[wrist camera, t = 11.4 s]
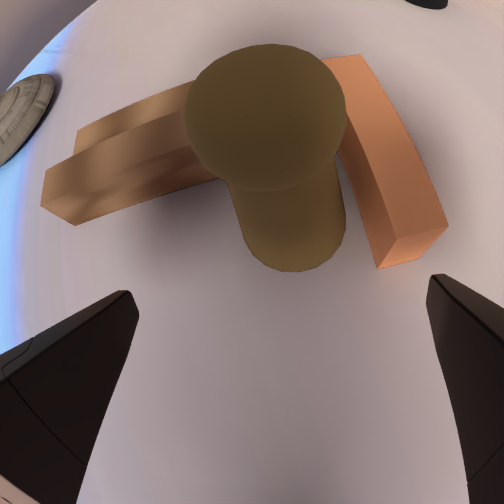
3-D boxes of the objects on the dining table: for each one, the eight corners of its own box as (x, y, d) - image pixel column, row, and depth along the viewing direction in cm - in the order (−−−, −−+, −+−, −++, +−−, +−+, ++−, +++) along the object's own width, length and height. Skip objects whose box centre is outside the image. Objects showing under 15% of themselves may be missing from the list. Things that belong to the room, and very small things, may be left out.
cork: (367, 222, 17) (405, 75, 7) (288, 295, 17) (235, 211, 7) (296, 158, 19) (263, 6, 9) (221, 220, 19) (125, 96, 9)
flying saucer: (24, 174, 26) (-11, 150, 21) (-26, 180, 30) (-53, 163, 25) (79, 70, 30) (56, 42, 25) (18, 94, 34) (-2, 74, 29)
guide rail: (75, 330, 19) (22, 321, 15) (84, 137, 25) (52, 106, 20) (417, 258, 16) (448, 226, 11) (330, 58, 22) (326, 8, 17)
